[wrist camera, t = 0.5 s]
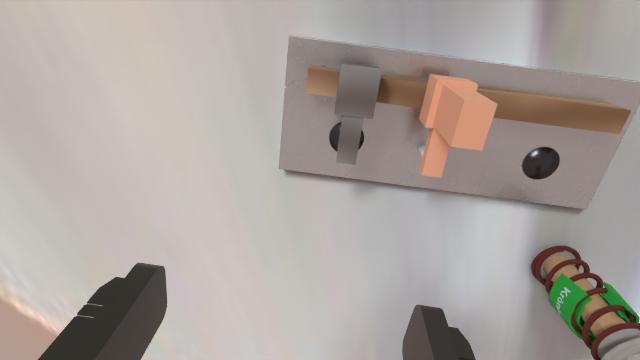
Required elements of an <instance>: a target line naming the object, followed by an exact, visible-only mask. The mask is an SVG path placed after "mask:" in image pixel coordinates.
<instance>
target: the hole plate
mask: <svg viewBox="0 0 640 360" xmlns="http://www.w3.org/2000/svg"><path fill="white" fill-rule="evenodd" d="M341 62H347V63H354V64H362V65H370V66H377V67H379V68H380V69H381V71H382V73H381V74H385V75H393V76H400V77H408V78H415V79H423V80H429V76H430V74H434V75H442V76H449V77H457V78H464V79H469V80H471V81H473V82H475V83H476V84H478V87H484V88H491V89H499V90H506V91H514V92H521V93H529V94H537V95H544V96H552V97H559V98H567V99H574V100H582V101H590V102H597V103H605V104H612V105H616V106H619V107H622V108H625V109H628V110H631V113H630V115H629V117H628V119H627V121H626V123H625V125H624V127H623V129H622V131H621V133H620V134H612V133H605V132H597V131H589V130H582V129H574V128H567V127H559V126H552V125H544V124H536V123H529V122H521V121H514V120H506V119H498V118H493V120H492V123H491V126H490V129H489V132H488V135H487V138H486V141H485V144H484V147H483V149H482V151H479V150H472V149H464V148H457V147H451V146H450V148H449V152H448V155H447V159H446V162H445V166H444V169H443V172H442V176H441V178H439V177H432V176H424V175H421V173H420V171H419V168H420V165H421V161H422V156H421V154H420V152H419V147H420V146H422V145H426V142H427V138H428V134H429V130H430V128H428V127H425V126H424V125H423V123H422V122H421V121H420V119H419V117H420V113H421V109H422V108H415V107H407V106H400V105H392V104H385V103H377V102H376V105H375V111H374V116H373V119H367V118H364V119H363V125H362V131H361V136H360V142H359V148H358V154H357V159H356V165H351V164H344V163H336V157H337V150H338V143H339V137H340V130H341V123H342V116H343V115H337V114H334V111H335V102H336V97H332V96H324V95H316V94H309V93H306V87H307V77H308V68H309V66H310V65H317V66H324V67H332V68H340V65H341ZM639 104H640V82H639V81H632V80H624V79H616V78H609V77H601V76H594V75H586V74H579V73H571V72H564V71H556V70H548V69H541V68H533V67H526V66H518V65H511V64H503V63H495V62H488V61H480V60H473V59H465V58H458V57H450V56H442V55H435V54H427V53H420V52H412V51H405V50H397V49H389V48H382V47H374V46H367V45H359V44H352V43H344V42H337V41H329V40H321V39H314V38H306V37H299V36H289V42H288V55H287V68H286V81H285V94H284V107H283V120H282V134H281V147H280V160H279V169H283V170H291V171H299V172H306V173H314V174H321V175H329V176H337V177H344V178H352V179H359V180H367V181H375V182H382V183H390V184H398V185H405V186H413V187H420V188H428V189H436V190H443V191H451V192H458V193H466V194H474V195H481V196H489V197H496V198H504V199H512V200H519V201H527V202H534V203H542V204H550V205H557V206H565V207H573V208H580V209H587V207H588V205H589V203H590V201H591V199H592V197H593V195H594V193H595V191H596V189H597V187H598V185H599V183H600V181H601V179H602V177H603V175H604V173H605V171H606V169H607V167H608V165H609V163H610V161H611V159H612V157H613V155H614V154H615V152H616V150H617V148H618V146H619V144H620V142H621V140H622V138H623V136H624V134H625V132H626V130H627V128H628V126H629V124H630V122H631V120H632V118H633V116H634V114H635V112H636V110H637V108H638V106H639Z"/></svg>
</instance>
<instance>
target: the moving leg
mask: <svg viewBox="0 0 640 360" xmlns="http://www.w3.org/2000/svg"><path fill="white" fill-rule="evenodd" d="M477 89H478V84H476V83H475V82H473V81H471V80H469V79H464V78H457V77H449V76H442V75H434V74H430V76H429V80H428V84H427V88H426V92H425V96H424V100H423V105H422V109H421V113H420V117H419V119H420V121H421V122H422V123H423V125H424V126H425V127H428V128H430V130H429V134H428V138H427V142H426V145H422V146H420V147H419V152H420V154H421V156H422V161H421V165H420V168H419V171H420V173H421V175H424V176H432V177H439V178H441V176H442V172H443V169H444V166H445V162H446V159H447V155H448V152H449V148H450V146H451V147H457V148H464V149H472V150H479V151H482V149H483V147H484V144H485V141H486V138H487V135H488V132H489V129H490V126H491V123H492V120H493V117H494V114H495V111H496V108H497V105H498V104H497V103H495V102H493V101H492V100H490V99H488V98H487V97H485V96H483V95H481V94H480V93H478V92H477Z"/></svg>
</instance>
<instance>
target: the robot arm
mask: <svg viewBox="0 0 640 360" xmlns="http://www.w3.org/2000/svg"><path fill="white" fill-rule="evenodd" d="M166 308H167V292H166V276H165V268H164V267H163V266H158V265H151V264H145V263H137V264H136V265H135V266H134V267H133V268H132V269H131V271H130V272H129V273H128V275H127V276H126V277H125V278H119V277H115V278H114V279H112V280H111V281H109V282H108V283H106V284H105V285H103V286H102V287H100V288H99V289H98V290H97V291H96V292H95V294H94V295H93V296H92V297H91V298H90V299H89V301H88V302H87V305H84V306H83V308H82V309H81V310H80V311H79V312H78V313H77V316H76V317H74V318H73V319H72V320H71V322H70V323H69V324H68V325H67V326H66V327H65V329H64V330H63V331H62V332H61V333H60V334H59V336H58V337H57V338H56V339H55V340H54V342H53V343H52V344H51V345H50V346H49V348H48V349H47V350H46V351H45V352H44V353H43V354H42V356H41V357H40V358H39V359H38V360H141V358H142V356H143V354H144V353H145V351H146V349H147V347H148V345H149V344H150V342H151V340H152V338H153V337H154V335H155V333H156V331H157V330H158V328H159V326H160V324H161V322H162V320H163V318H164V315H165V312H166ZM402 352H403V360H476V359H475V357H474V354H473V351H472V349H471V346H470V344H469V342H468V341H467V340H466V338H465V337H464V336H463V335H462V333H461V332H460V331H459V329H458V328H453V327H448V324H447V321H446V318H445V315H444V312H443V310H442V309H441V308H436V307H429V306H423V305H416V306H415V308H414V311H413V314H412V316H411V319H410V322H409V325H408V328H407V331H406V333H405V336H404V340H403V351H402Z"/></svg>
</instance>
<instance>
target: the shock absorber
mask: <svg viewBox="0 0 640 360" xmlns="http://www.w3.org/2000/svg"><path fill="white" fill-rule="evenodd" d="M580 265H582V266H583V268H584V273H580V272H579V267H580ZM589 272H590V269H589V266H588V264H587V263H586V262H584V261H582V260H581V258H580V255H579V253H578V252H577V251H576V250H574V249H572V248H570V247H567V246H554V247H551V248H548V249H546V250H544V251H542V252H541V253H540V254H539V255H538V256H537V257H536V258H535V259H534V261H533V263H532V273H533V275H534V276H535V278H536V279H537V280H539V281H540V282H541V283H542V284H543V285H544V286H546V290H547V292H548V294H549V301H550V302H551V304H552V306H553V307H554V308H555V309H556V311H557V312H558V313H559V314H560V316H561V317H562V318H563V319H564V321H565V322H566V323H567V325H568V326H569V327H570V329H571V330H572V331H573V332H574V333H575V334H576V335H577V336H578V337H579V338H581V339H582V340H584V342H585V344H586V345H587V347H588V348H589V349H591V354H592V356H593V358H594V359H595V360H640V323H638V322H639V317H638V315H637V314H636V313H635V312H634V310H633V309H632V308H631V307H630V306H629V305H628V304H627V303H626V302H625V300H624V299H623V298H622V297H621V296H620V295H619V294H618V293H617V291H616V290H615V289H614V288H613V287H612V286H611V285H609V284H607V283H605V282H604V283H603V281H602V279H601V278H600V277H599V276H598V275H596V274H594V273H589ZM587 278H593V279H595V280H596V281H597V286H596V288H594V287H593V286H592V285H591V284H590V283H589V281H588V280H587ZM553 284H554V285H553ZM603 285H604V286H605V288H602V287H603ZM599 293H600V294H601V295H602V296H603V297H602V296H601V295H600V294H599ZM597 353H598V354H597Z"/></svg>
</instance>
